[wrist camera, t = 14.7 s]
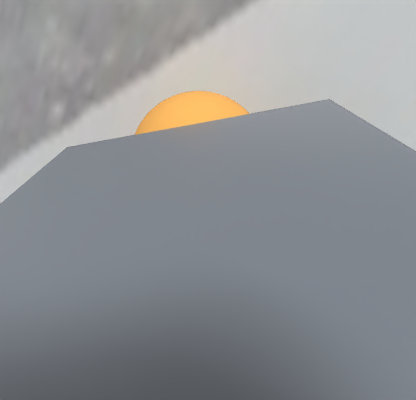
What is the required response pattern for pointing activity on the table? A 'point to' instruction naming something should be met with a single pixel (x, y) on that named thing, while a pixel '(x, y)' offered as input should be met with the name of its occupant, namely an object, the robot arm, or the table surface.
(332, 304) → the grey matte cube
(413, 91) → the table surface
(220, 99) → the ball
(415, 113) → the table surface
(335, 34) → the table surface
